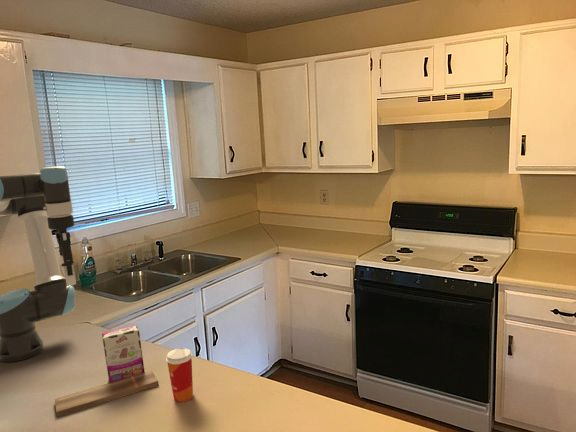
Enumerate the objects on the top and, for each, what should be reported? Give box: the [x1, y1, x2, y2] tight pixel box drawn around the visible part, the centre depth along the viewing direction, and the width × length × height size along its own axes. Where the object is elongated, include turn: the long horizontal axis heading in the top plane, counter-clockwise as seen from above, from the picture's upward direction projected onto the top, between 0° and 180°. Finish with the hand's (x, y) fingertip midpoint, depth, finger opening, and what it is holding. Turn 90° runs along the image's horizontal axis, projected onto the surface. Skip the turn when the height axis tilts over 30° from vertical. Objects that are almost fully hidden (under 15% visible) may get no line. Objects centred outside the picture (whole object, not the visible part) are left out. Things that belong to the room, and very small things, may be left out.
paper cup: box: [165, 347, 194, 403], centre depth 139 cm, size 8×8×14 cm
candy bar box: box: [101, 324, 146, 383], centre depth 152 cm, size 11×5×16 cm, turn 116°
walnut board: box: [54, 370, 160, 418], centre depth 144 cm, size 8×29×2 cm, turn 120°
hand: (69, 279), depth 153 cm, fingers open, 13 cm apart
